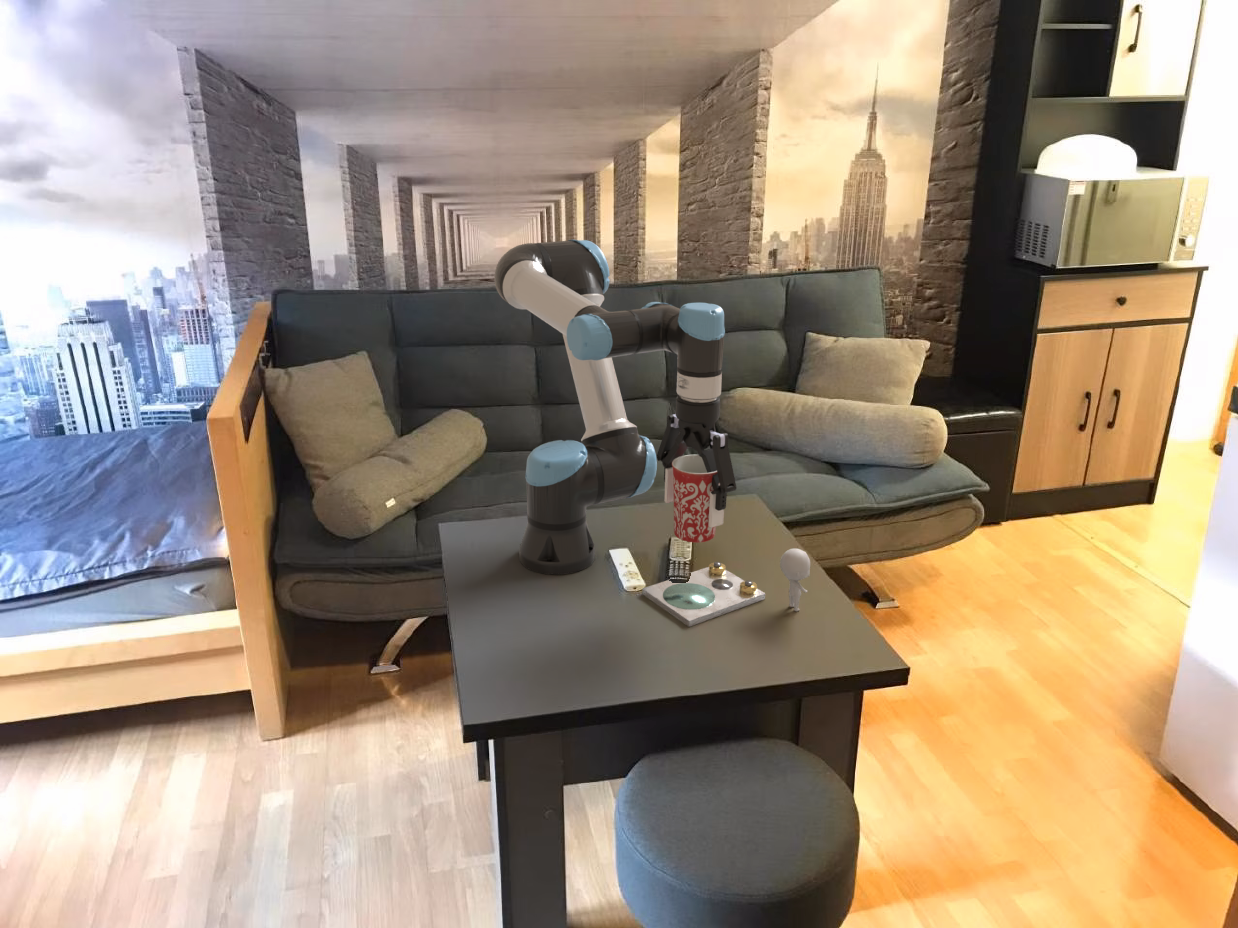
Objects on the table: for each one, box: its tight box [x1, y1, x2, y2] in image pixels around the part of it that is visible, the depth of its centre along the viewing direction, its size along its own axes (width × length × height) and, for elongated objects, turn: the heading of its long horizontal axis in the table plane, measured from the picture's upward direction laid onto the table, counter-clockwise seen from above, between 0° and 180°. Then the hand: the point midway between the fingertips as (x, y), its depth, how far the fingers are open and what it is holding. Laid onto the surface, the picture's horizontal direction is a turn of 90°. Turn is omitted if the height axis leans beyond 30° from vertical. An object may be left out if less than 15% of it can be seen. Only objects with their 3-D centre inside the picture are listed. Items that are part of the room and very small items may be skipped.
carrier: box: [641, 561, 766, 628], centre depth 180 cm, size 14×18×3 cm
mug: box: [672, 454, 720, 544], centre depth 171 cm, size 13×9×14 cm
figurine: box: [779, 547, 811, 612], centre depth 175 cm, size 8×5×12 cm
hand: (693, 512), depth 172 cm, fingers closed on mug, 12 cm apart
